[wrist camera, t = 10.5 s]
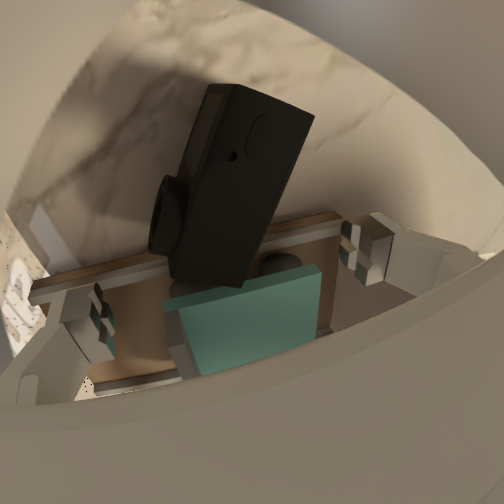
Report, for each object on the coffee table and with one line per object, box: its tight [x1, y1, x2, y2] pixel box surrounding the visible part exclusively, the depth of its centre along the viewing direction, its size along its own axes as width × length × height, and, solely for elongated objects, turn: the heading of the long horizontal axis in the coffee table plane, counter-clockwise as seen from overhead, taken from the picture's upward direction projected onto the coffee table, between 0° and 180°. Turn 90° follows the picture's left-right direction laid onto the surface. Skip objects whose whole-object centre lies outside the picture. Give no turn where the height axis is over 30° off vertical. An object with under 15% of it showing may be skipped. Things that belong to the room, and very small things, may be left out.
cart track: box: [27, 211, 344, 396], centre depth 25 cm, size 26×14×2 cm, turn 94°
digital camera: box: [148, 84, 315, 288], centre depth 17 cm, size 10×5×7 cm, turn 158°
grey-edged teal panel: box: [162, 253, 322, 380], centre depth 23 cm, size 11×11×7 cm
